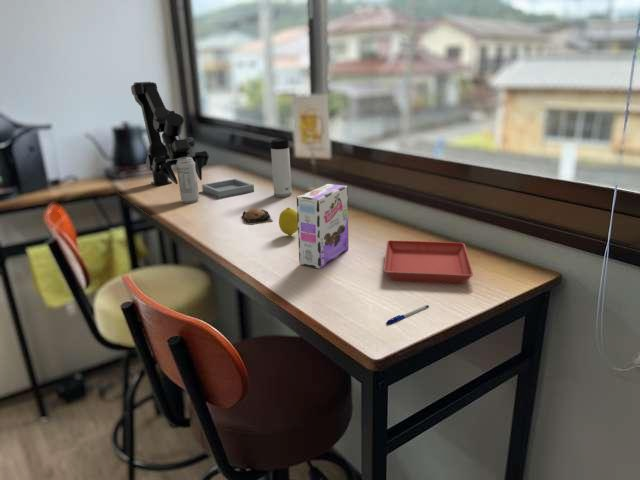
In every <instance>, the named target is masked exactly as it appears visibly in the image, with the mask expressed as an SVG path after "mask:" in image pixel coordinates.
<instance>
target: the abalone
mask: <svg viewBox="0 0 640 480" xmlns="http://www.w3.org/2000/svg"><path fill="white" fill-rule="evenodd" d="M241 218H242V220H243V222H244V223H245V224H247V225H248V226H255V225H260V224H266V223H272V222H273V219H272V218H271V215H270V213H269V212H268V211H267V210H266V209H263V208H262V209H260V208H251V209H248V210H247V211H243V212H242V215H241Z"/></svg>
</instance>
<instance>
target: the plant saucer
mask: <svg viewBox="0 0 640 480" xmlns="http://www.w3.org/2000/svg"><path fill="white" fill-rule="evenodd" d="M383 272H384V274H385V275H386V276H387V277H388V278H389V279H390V280H392V281H395V282H396V281H397V282H399V281H400V282H402V281H403V282H423V283H445V284H447V283H448V284H463V283H465V282H466V281H468V280H469V279H470V278H471V277H472V276H473V275H474V272H473V269H472V265H471V262H470V258H469V254H468V252H467V247H466V244H465V243H463V242H453V241H451V242H447V241H425V240H423V241H422V240H421V241H420V240H393V239H392V240H387V242H386V249H385V256H384V264H383Z"/></svg>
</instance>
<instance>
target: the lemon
mask: <svg viewBox="0 0 640 480" xmlns="http://www.w3.org/2000/svg"><path fill="white" fill-rule="evenodd" d="M278 217H279V218H278V226H279V228H280V231H281V232H282V233H284V234H285V235H288V236H289V237H291V236H293V235H294V234H295V233H296V232H298V218H297V210H295V209H294V208H290V207H289V206H288V207H286V208H285V209H283V210H282V211H281V212H280V214H279V216H278Z"/></svg>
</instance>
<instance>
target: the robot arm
mask: <svg viewBox="0 0 640 480" xmlns="http://www.w3.org/2000/svg"><path fill="white" fill-rule="evenodd" d="M130 90H131V94H132V96H133V97H134V100H135V102H136V103H137V104H138V105H139V106H140V108H141V111H142V117H143V121H144V124H145V125H144V126H145V130H146V135H147V138H148V143H149V145H148V148H147V151H146V152H147V155H146V159H145V165H146V169H147V170H149V171H151V172H152V179H153V181H151V182H150V184H152V185H154V186H155V187H157V186H158V187H159V186H162V185H169V184H173V183H174V184H175V185H179V181H178V178H177V176H176V174H175V173H174V171H173V169H172V166H177V165H176V163H177V161H178V158H181V157H189V156H188V155H190V149H191V148H192V149H193V148H194V147H195V144H196V143H195V140H194V138H193V137H192V136H191V137H190V136H189V137H186V138H184V139H183V138H182V139H181V136H180V135H182V131H183V126H184V121H185V120H184V117H183V116H182V115H181V114H179V113H176V112H175V110H170V109H167V108H166V105H165V103H164V101H163V99H162V97H161V95H160V93H159V91H158V86H157V83H156V82H154V81H153V82H151V81H139V82H133V85H130ZM161 133H162V134H161ZM191 157H192V159H193V161H194V162H195V169H196V176H197V178H198V180H199V181H202V180H203V179H202V178H203V172H202V171H203V169H202V168H203V167H205V166H207V164H208V162H209V161H208V160H209V158H210V154H209V152H207V151H206V150H201V151H199V150H198V151H195V153H194V156H191Z"/></svg>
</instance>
